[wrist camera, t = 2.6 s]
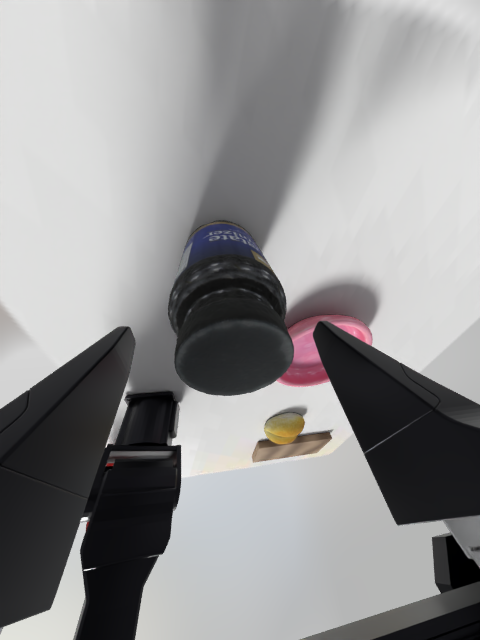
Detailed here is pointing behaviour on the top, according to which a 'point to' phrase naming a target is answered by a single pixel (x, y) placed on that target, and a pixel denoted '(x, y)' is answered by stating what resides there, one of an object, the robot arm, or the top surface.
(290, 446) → the walnut chopping board
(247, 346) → the pill bottle
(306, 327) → the saucer
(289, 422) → the bread roll
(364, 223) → the top surface
